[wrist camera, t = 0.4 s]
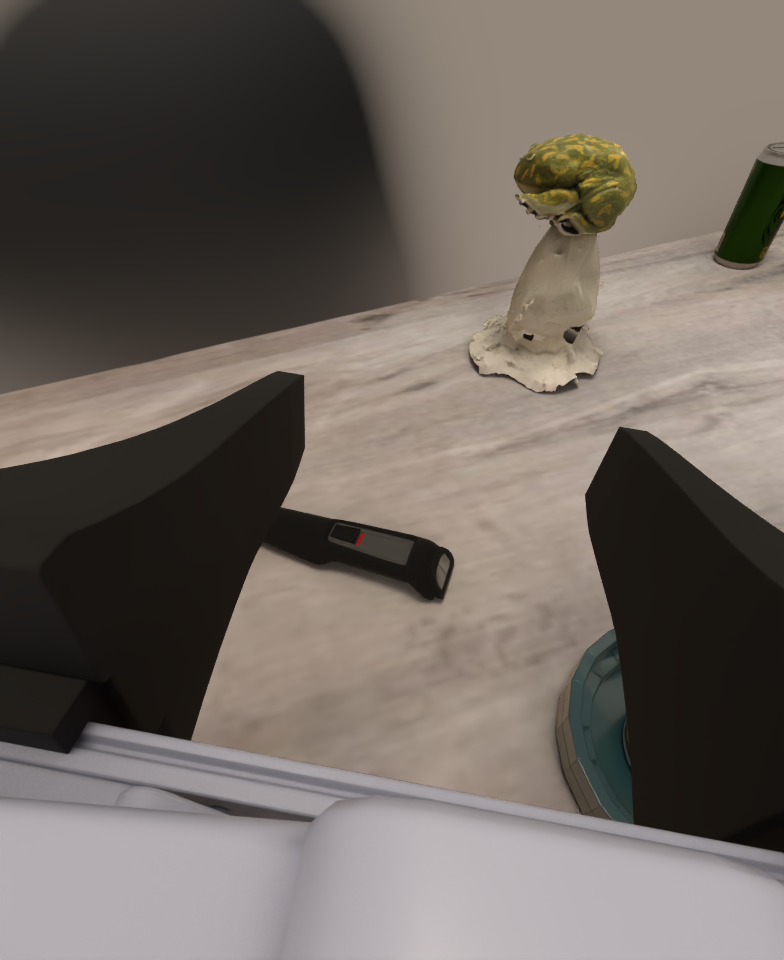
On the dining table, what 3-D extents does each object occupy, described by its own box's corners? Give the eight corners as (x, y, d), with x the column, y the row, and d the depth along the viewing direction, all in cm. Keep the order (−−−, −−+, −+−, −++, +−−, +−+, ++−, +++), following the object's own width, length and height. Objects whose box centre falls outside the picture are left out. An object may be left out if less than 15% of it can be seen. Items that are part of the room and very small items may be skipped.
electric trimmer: (262, 508, 36) (251, 480, 34) (456, 560, 32) (458, 533, 30) (236, 546, 34) (221, 520, 32) (440, 608, 30) (441, 583, 28)
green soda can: (712, 267, 59) (764, 154, 50) (711, 249, 62) (759, 140, 53) (762, 272, 57) (824, 156, 48) (758, 254, 61) (816, 142, 52)
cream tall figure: (499, 313, 54) (524, 114, 40) (614, 340, 49) (686, 123, 35) (452, 366, 47) (461, 150, 34) (578, 403, 42) (650, 168, 29)
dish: (867, 914, 20) (928, 916, 17) (585, 904, 20) (607, 905, 18) (738, 644, 27) (768, 620, 25) (537, 643, 28) (548, 619, 26)
